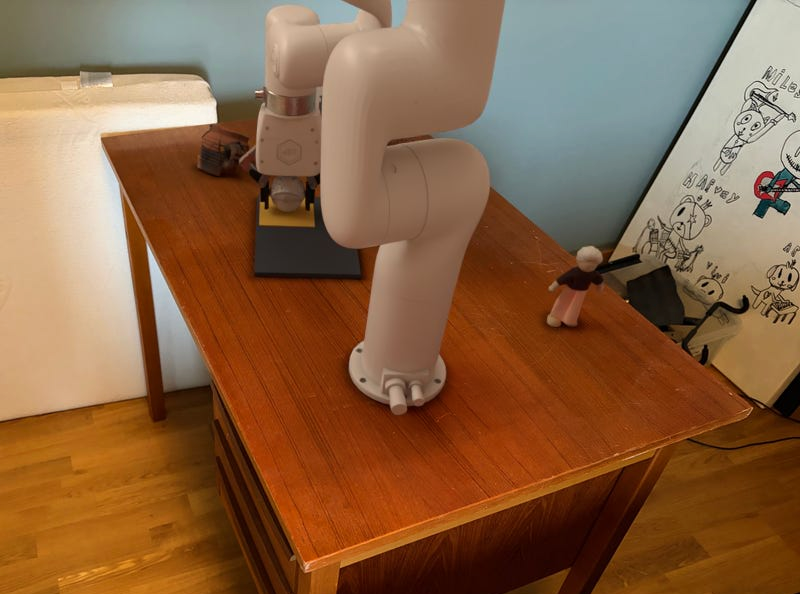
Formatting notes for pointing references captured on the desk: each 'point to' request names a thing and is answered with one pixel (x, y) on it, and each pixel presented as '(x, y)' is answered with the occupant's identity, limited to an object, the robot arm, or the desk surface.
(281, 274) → the desk mat
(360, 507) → the desk surface
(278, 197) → the carved stone head
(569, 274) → the grandmother figurine
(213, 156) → the pottery mug
